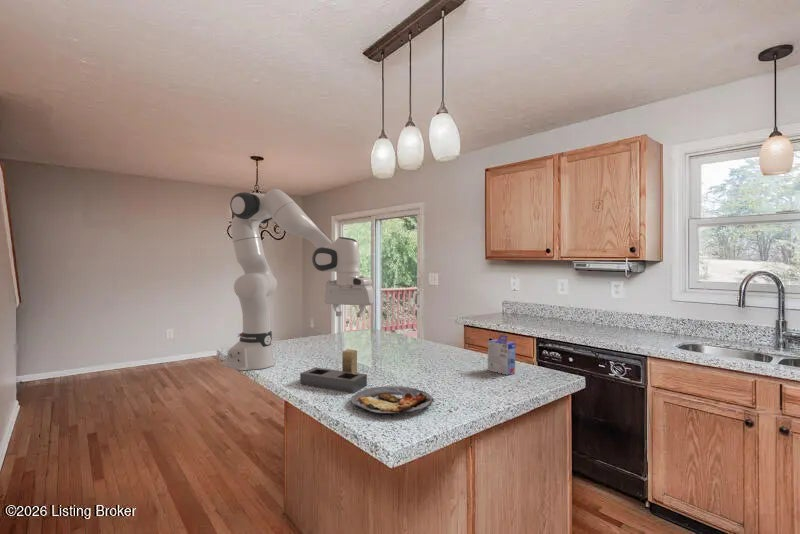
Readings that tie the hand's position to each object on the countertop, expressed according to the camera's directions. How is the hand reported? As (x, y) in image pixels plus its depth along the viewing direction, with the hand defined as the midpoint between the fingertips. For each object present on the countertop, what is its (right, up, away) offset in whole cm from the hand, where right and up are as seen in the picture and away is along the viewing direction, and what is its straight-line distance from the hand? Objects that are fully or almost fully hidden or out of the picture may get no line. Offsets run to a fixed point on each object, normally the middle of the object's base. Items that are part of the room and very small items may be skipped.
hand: (349, 316), depth 153 cm
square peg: (0, -23, 0) cm, 23 cm away
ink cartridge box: (+60, -23, +9) cm, 65 cm away
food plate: (+17, -24, -28) cm, 41 cm away
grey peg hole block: (-4, -23, -10) cm, 25 cm away
